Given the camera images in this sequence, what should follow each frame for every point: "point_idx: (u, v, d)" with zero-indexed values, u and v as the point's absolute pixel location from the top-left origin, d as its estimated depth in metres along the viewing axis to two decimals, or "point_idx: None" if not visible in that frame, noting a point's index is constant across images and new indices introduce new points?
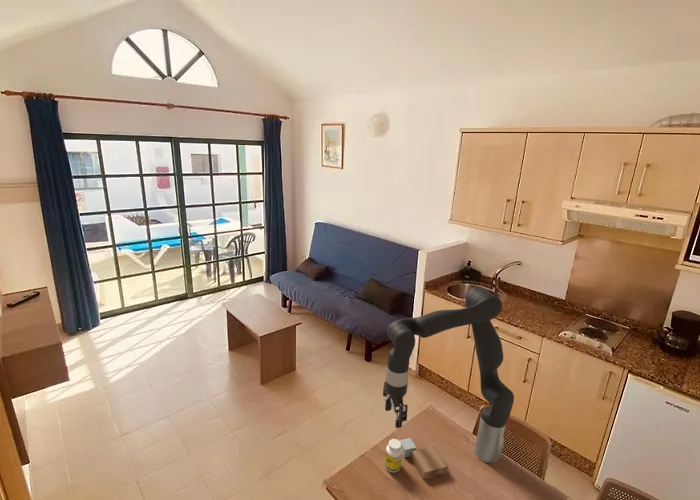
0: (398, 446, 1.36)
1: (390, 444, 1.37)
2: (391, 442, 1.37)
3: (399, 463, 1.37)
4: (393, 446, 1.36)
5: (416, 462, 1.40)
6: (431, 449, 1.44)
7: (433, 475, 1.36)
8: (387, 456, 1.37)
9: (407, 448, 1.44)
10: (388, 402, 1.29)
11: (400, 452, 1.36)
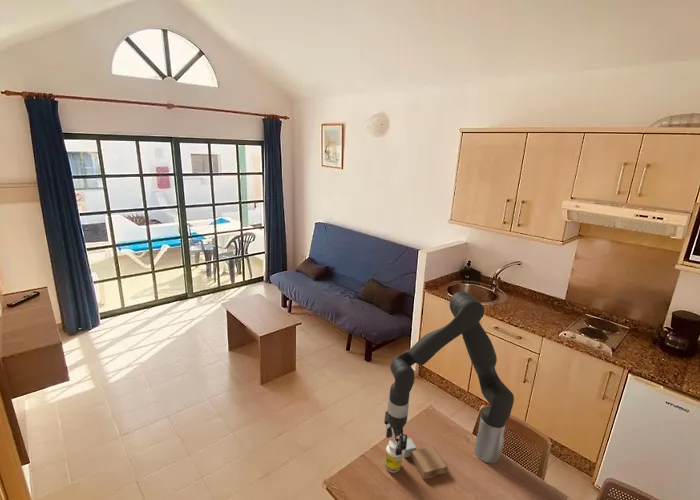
0: None
1: (390, 444, 1.37)
2: (391, 442, 1.37)
3: (399, 463, 1.37)
4: (393, 446, 1.36)
5: (416, 462, 1.40)
6: (431, 449, 1.44)
7: (433, 475, 1.36)
8: (387, 456, 1.37)
9: (407, 448, 1.44)
10: (389, 430, 1.40)
11: None
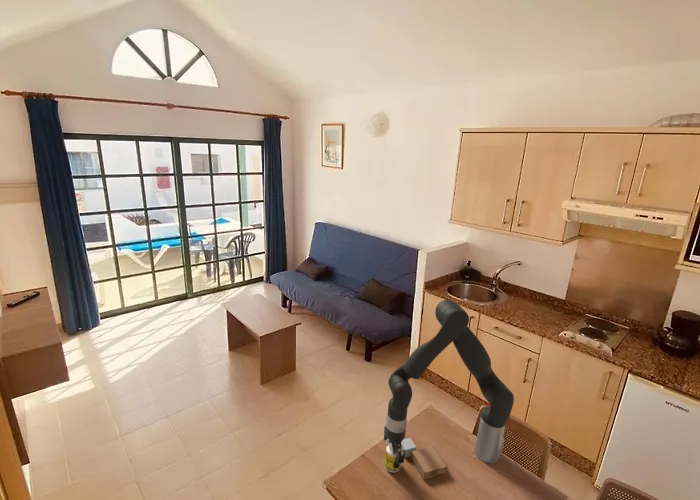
0: None
1: (390, 444, 1.37)
2: None
3: None
4: None
5: (416, 462, 1.40)
6: (431, 449, 1.44)
7: (433, 475, 1.36)
8: (387, 456, 1.37)
9: (407, 448, 1.44)
10: None
11: None
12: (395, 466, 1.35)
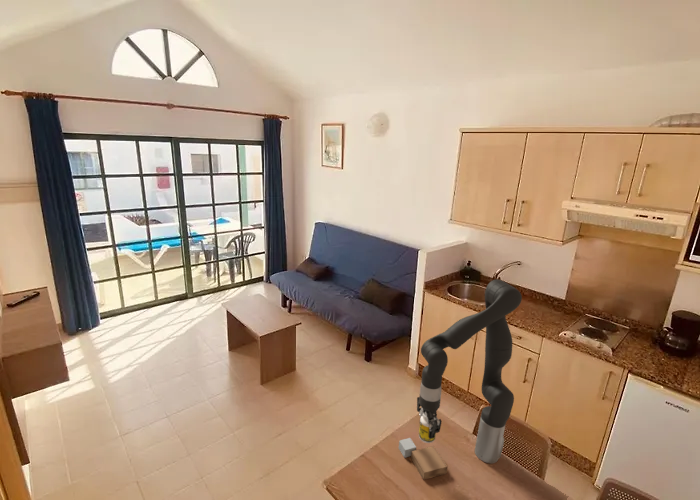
0: None
1: (424, 414, 1.34)
2: None
3: None
4: None
5: (416, 462, 1.40)
6: (431, 449, 1.44)
7: (433, 475, 1.36)
8: (421, 427, 1.34)
9: (407, 448, 1.44)
10: None
11: None
12: (431, 436, 1.32)
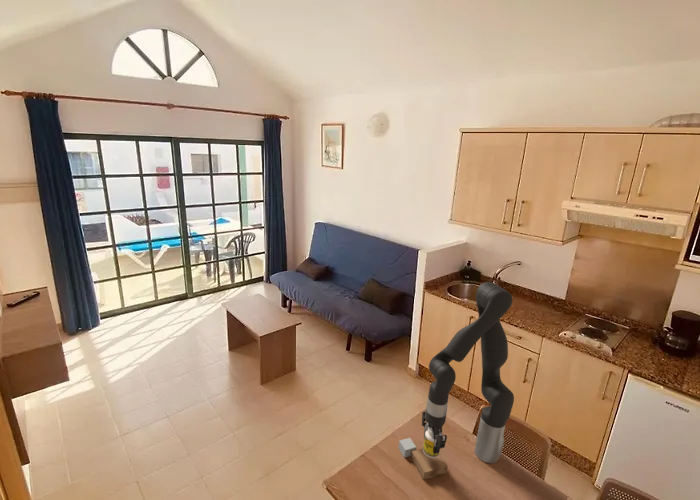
0: None
1: (430, 429, 1.36)
2: None
3: None
4: None
5: (416, 462, 1.40)
6: None
7: (433, 475, 1.36)
8: (426, 441, 1.36)
9: (407, 448, 1.44)
10: None
11: None
12: (435, 451, 1.34)
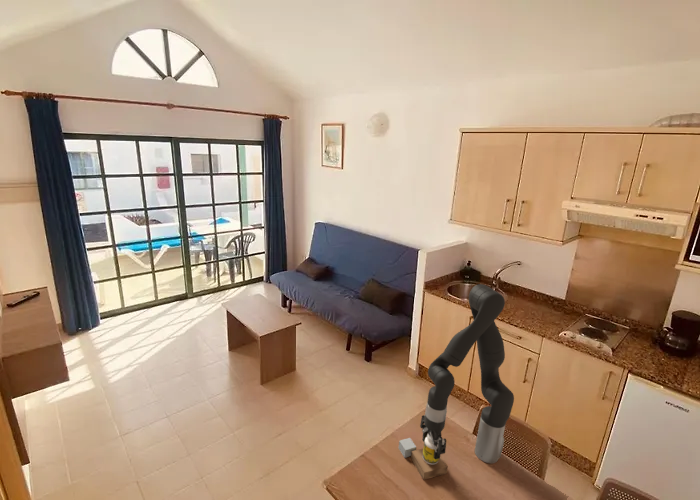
0: None
1: (429, 436, 1.37)
2: None
3: None
4: None
5: (416, 462, 1.40)
6: None
7: (433, 475, 1.36)
8: (426, 448, 1.37)
9: (407, 448, 1.44)
10: (425, 434, 1.41)
11: None
12: (436, 457, 1.34)
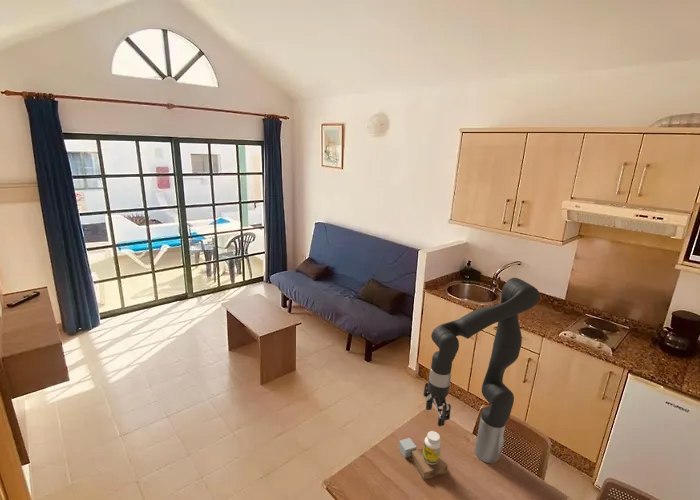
0: (437, 438, 1.36)
1: (429, 436, 1.37)
2: (430, 434, 1.38)
3: (438, 455, 1.37)
4: (432, 438, 1.36)
5: (416, 462, 1.40)
6: None
7: (433, 475, 1.36)
8: (426, 448, 1.37)
9: (407, 448, 1.44)
10: (429, 402, 1.38)
11: (439, 444, 1.36)
12: (440, 423, 1.30)
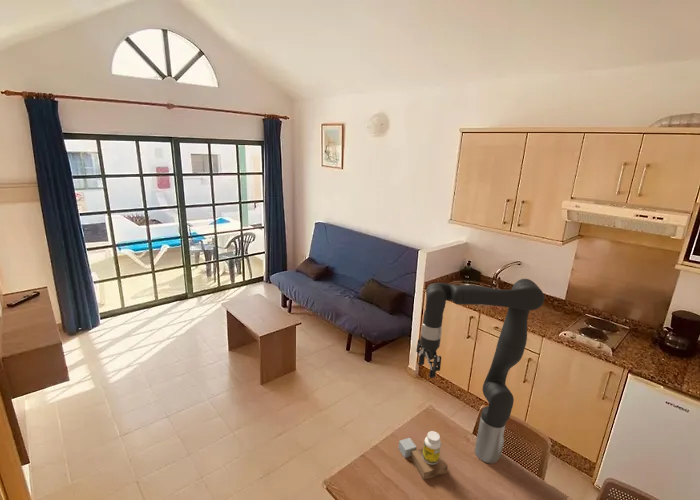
0: (437, 438, 1.36)
1: (429, 436, 1.37)
2: (430, 434, 1.38)
3: (438, 455, 1.37)
4: (432, 438, 1.36)
5: (416, 462, 1.40)
6: None
7: (433, 475, 1.36)
8: (426, 448, 1.37)
9: (407, 448, 1.44)
10: (421, 357, 1.46)
11: (439, 444, 1.36)
12: (431, 375, 1.38)
